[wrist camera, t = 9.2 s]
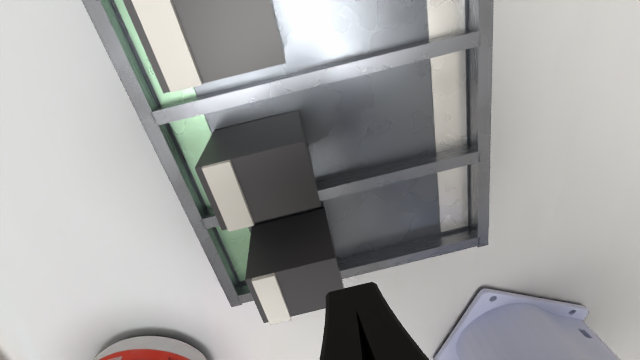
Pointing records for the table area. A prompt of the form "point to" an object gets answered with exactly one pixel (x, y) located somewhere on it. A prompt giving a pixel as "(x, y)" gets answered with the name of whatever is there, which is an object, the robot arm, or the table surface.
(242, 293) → the panel
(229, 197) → the block
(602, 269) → the table surface
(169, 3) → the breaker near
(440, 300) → the table surface
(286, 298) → the breaker far
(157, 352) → the pill bottle
